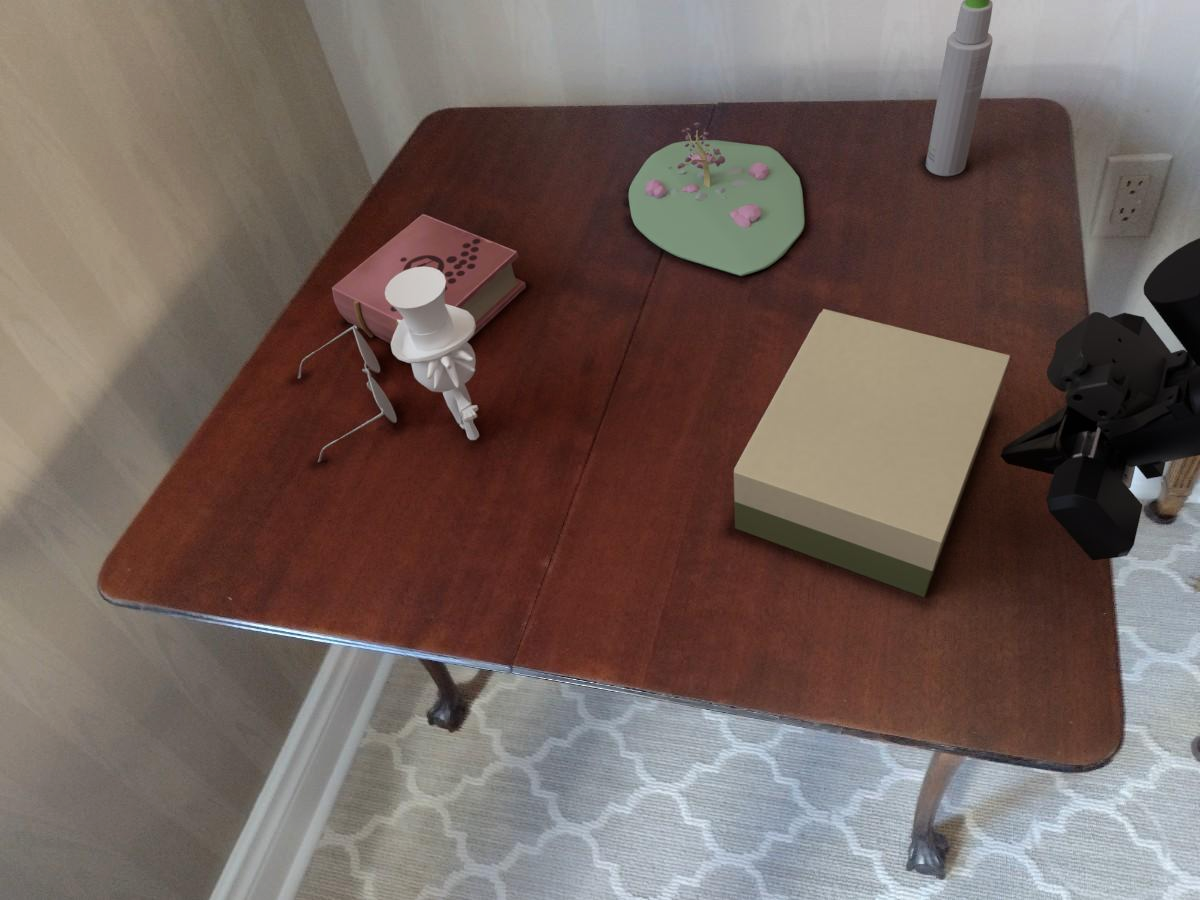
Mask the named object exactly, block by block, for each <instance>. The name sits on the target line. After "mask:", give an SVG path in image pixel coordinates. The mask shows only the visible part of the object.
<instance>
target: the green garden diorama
mask: <svg viewBox="0 0 1200 900" xmlns="http://www.w3.org/2000/svg"><path fill="white" fill-rule="evenodd" d="M693 125H694V126H695V127H700V126H701V122H699V121H698V122H695V123H693ZM691 130H692V129H691V128H690V127H687V128H685V129H681V133H685V132H686V133H687V135H685V140H684V141H677V142H673V143H671V144H668V145H666V146H665V147H662V148H661V149H659V150H657V151H655V152H654V153H652V154H651V155H650V156H649V157H648V158H647V159H646V160H645V162H644V163H643V165H642V166H641V168H640V169H639V170H638V172H637V174H636V175H635V177H634V178H633V180H632V182H631V183H630V186H629V189H628V204H629V212H630V217H631V221H632V223H633V225H634V226H635V228H636V229H637V230H638V231H639V232H640V233H641V234H642V235H643V236H644V237H645V238H646V239H647V240H649V241H650V242H651V243H653V244H654V245H655V246H657V247H658V248H660V249H662V250H664V251H665V252H667V253H668V254H670V255H673V256H675V257H678V258H680V259H682V260H686V261H690V262H693V263H696V264H699V265H702V266H706V267H709V268H713V269H716V270H719V271H722V272H725V273H728V274H732V275H736V276H738V277H744V276H747V275H750V274H753V273H756V272H759V271H761V270H764V269H766V268H769V267H771V266H772V265H773V264H775V263H776V262H777V261H778V260H780V259H781V258H782V257H783V256H784V255H785V254H786V253H787V252H788V250H789V249H790V248H791V247H792V245H793V244H794V243H795V242H796V241H797V239H798V238H799V237H800V236H801V235H802V232H803V231H804V228H805V208H804V196H803V195H804V194H803V188H802V184H801V179H800V177H799V175H798V174H797V173H796V171H795V169H794V168H793V167H792V166H791V165H790V164H789V162H787V160H786V159H785V158H784V157H783V156H782V155H781V153H780V152H779V151H777V150H776V149H774V148H772V147H770V146H769V145H762V144H761V145H760V144H753V143H750V144H749V143H744V142H736V141H735V142H733V141H727V140H718V139H708V138H707V136H708V135H709V134H710V132H708V131H707V128H703V134H701V135H700V136H699V135H698V133H699V132H698V131H696V134H695V135H694V138H695V140H692V136H691V134H690V132H687V131H691ZM701 138H702V139H701Z"/></svg>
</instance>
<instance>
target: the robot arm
mask: <svg viewBox="0 0 1200 900" xmlns="http://www.w3.org/2000/svg"><path fill="white" fill-rule="evenodd" d="M1143 295H1144V296H1145V298H1146V299H1147V300H1148V302H1149V303H1150V304H1151V305H1152V307H1153V308H1154V310H1155V311H1156V312H1157V314H1158V315H1159V316H1160V317H1161V319H1162V320H1163V322H1164V323H1165V324H1166V325H1167V327H1168V328H1169V330H1170V331H1171V333H1173V335H1174V336H1175V338H1176V339H1177V340H1178V342H1179V344H1181V345H1182V347H1183V348H1184V349H1179V350H1177V351H1173V352H1172V351H1171V350H1170V349H1169V347H1168V346H1167V345H1166V343H1164V341H1163V339H1161V337H1160V336H1159V334H1158V333H1157V332H1156V331H1155V329H1154V328H1153V327H1152V325H1151V324H1150V322H1148V320H1147V319H1146V318H1145V317H1144V316H1141V315H1137V314H1132V313H1128V312H1122V313H1119V314H1116V315H1113V316H1111V317H1110V316H1108V315H1106V314H1104V313H1103V312H1100V311H1094V312H1092V313H1089V314H1088V315H1087V316H1086V317H1085V318H1083V319H1082V320H1080V322H1078V323H1077V324H1076V325H1074V326H1072V328H1070V329H1069V330H1068V331H1067V332H1066V333H1064V334H1063V335H1061V336H1060V337H1058V339H1057V340H1056V342H1055V345H1054V346H1055V349H1054V352H1053V355H1052V359H1051V361H1050V362H1049V364H1048V365H1047V369H1046V377H1047V380H1048V381H1049V383H1050V384H1051V385H1052V387H1054V388H1055V389H1056V390H1059V391H1060V392H1061V393H1062V392H1063V393H1065V395H1064V403H1065V405H1063V407H1061V408H1060V409H1058V410H1057V411H1056V412H1054V413H1053V414H1051V415H1050V416H1049V417H1048V418H1046V419H1045V420H1043V421H1042V422H1040V423H1038V424H1037V425H1035V426H1034V427H1032V428H1031V429H1029V430H1028V431H1026V432H1024V433H1023V434H1022V435H1020V436H1019V437H1017V438H1015V439H1014V440H1012V441H1011V442H1009V443H1008V444H1006V445H1004V446H1003V447H1002V449H1001V452H1000V455H999V456H1000V458H1001V459H1002V460H1003V461H1004V462H1005V463H1006V464H1007V465H1011V466H1015V467H1019V468H1024V469H1028V470H1032V471H1036V472H1041V473H1045V474H1049V475H1052V477H1051V481H1050V483H1049V488H1048V491H1047V494H1046V498H1045V501H1046V505H1047V510H1048V512H1049V513H1050V515H1051V516H1052V517H1053V518H1054V519H1055V520H1056V522H1057V523H1058V524H1059V525H1060V526H1061V527H1062V528H1063V530H1064V531H1066V532H1067V534H1068V535H1069V536H1070V537H1071V538H1072V539H1073V540H1074V542H1075V543H1076V544H1077V545H1078V546H1079V547H1080V549H1082V550H1083V552H1084V553H1085V554H1086V555H1087V556H1088V557H1089V558H1090V560H1091V561H1100V560H1101V561H1102V560H1107V559H1108V560H1109V559H1115V558H1116V559H1117V558H1123V557H1128V555H1129V553H1130V552H1131V550H1132V549H1133V547H1134V546H1135V541H1136V537H1137V533H1138V528H1139V525H1140V519H1141V514H1142V511H1143V504H1142V503H1141V501H1140V499H1138V498H1137V496H1136V495H1135V494H1134V493H1133V491H1132V490H1131V487H1132V483H1133V480H1134V475H1135V471H1136V468H1137V469H1138V471H1140V473H1141V474H1142V475H1143V476H1144V478H1145V479H1146V480H1150V479H1155V478H1160V477H1161V478H1162V477H1163V476H1164V473H1165V472H1164V471H1165V467H1166V463H1168V462H1173V461H1177V460H1182V459H1183V460H1184V459H1187V458H1193V457H1198V456H1200V237H1199V238H1196V239H1194V240H1192V241H1190V242H1188V243H1186V244H1185V245H1183V246H1181V247H1179V248H1177V249H1176V250H1175V251H1173V252H1172V253H1171V254H1168V255H1167V256H1166V257H1165V258H1164V259H1163V260H1162V261H1161V262H1159V263H1158V264H1157V265H1156V266H1155V267H1154V269H1152V270H1151V272H1150V273H1149V275H1148V277H1147V278H1146V280H1145V282H1144V283H1143Z"/></svg>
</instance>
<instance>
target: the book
mask: <svg viewBox="0 0 1200 900" xmlns="http://www.w3.org/2000/svg"><path fill="white" fill-rule="evenodd" d="M518 258H519V255H518V251H517V250H514V249H512V248H509V247H507V246H504V245H502V244H500V243H497V242H495V241H491V240H490V239H487V238H484V237H482V236H480V235H477V234H474V233H472V232H469V231H467V230H465V229H462V228H459V227H457V226H455V225H452V224H451V223H447V222H444V221H442V220H440V219H437V218H434V217H433V216H429V215H428V214H425V213H422V214H421V215H420V216H418V217H417V218H416V219H415V220H414V221H412V222H411V223H410V224H409V225H407V226H406V227H405V228H404V229H402V230H401V231H400V232H399V233H398V234H396V235H395V236H394V237H392V238H391V239H390V240H389V241H388V242H386V243H385V244H384V245H383V246H381V247H380V248H379V249H378V250H376V251H375V252H374V253H373V254H372V255H370V256H369V257H368V258H366V259H365V260H364V261H363V262H361V264H359V265H358V266H357V267H356V268H355V269H353V270H352V271H351V272H349V273H348V274H347V275H346V276H344V277H343V278H342V279H340V280H339V281H338V282H337V283H335V285H333V286H332V287H331V290H332V291H331V292H332V296H333V302H334V304H335V306H336V309H337V310H338V312H339V314H340V315H341V316H342V317H343V318H344V319H345V320H346V321H347V323H349V324H351V325H352V326H355V325H356V327H357V328H358V329H361V330H363V331H364V333H366V334H367V336H368V337H369V338H371V339H372V338H374V337H376V338H379V339H381V340H383V341H385V342H386V343H388V344H391V341H392V338H393V335H394V333H395V330H396V328H397V326H398V324H399V323H398V321H397V319H398V320H403V317H402V315H401V314H400V313H399V311H398V310H397V309H395V308H394V307H393V306H392V305H391V304H390V303H389V302H388V301H387V300H386V297H385V289H386V286H387V285H388V283H389V282H390V280H391V279H393V278H394V277H395V276H396V275H397V274H399V273H401V272H403V271H405V270H408V269H411V268H414V267H432V268H435V269H437V270H440V271H441V272H442V273H443V274H444V276H445V280H446V284H445V292H444V297H445V304H447V305H451V306H454V307H458V308H461V309H463V310H466V311H468V312H469V313H470V314H471V315H472V316H473V317H474V321H475V324H476V327H475V331H474V334H473V336H472V337H471V338H470V339H469V340H468V341H467V343H469V341H470V340H471V339H472V338H473V337H474V336H476V335H477V333H479V332H480V331H481V330H482V329H483V328H484V327H485V326H486V325H487V324H488V323H489V322H490V321H491V320H492V319H494V318H495V317H496V316H497V315H498V314H499V313H500V312H501V311H502V310H503V309H504V308H505V307H506V306H507V305H508V304H510V303H511V301H513V300H514V299H515V298H516V297H517V296H518V295H519V294H520V293H521V292H523V291H524V290H525V289H526V288H527V286H526V282H525V281H524V280H520V279H518V278H516V277H515V273H514V269H513V262H514V261H516V260H517V259H518Z"/></svg>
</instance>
